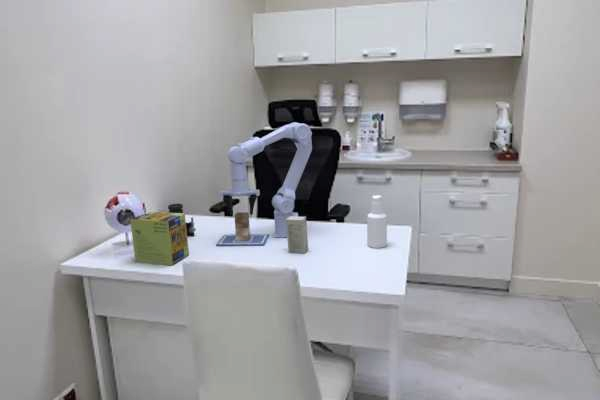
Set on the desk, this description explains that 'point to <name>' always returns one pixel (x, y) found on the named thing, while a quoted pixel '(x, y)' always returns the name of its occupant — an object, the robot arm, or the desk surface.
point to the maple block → (243, 234)
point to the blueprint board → (253, 241)
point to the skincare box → (297, 234)
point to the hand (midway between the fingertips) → (241, 214)
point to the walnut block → (241, 220)
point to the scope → (178, 209)
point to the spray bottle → (376, 224)
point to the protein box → (159, 237)
